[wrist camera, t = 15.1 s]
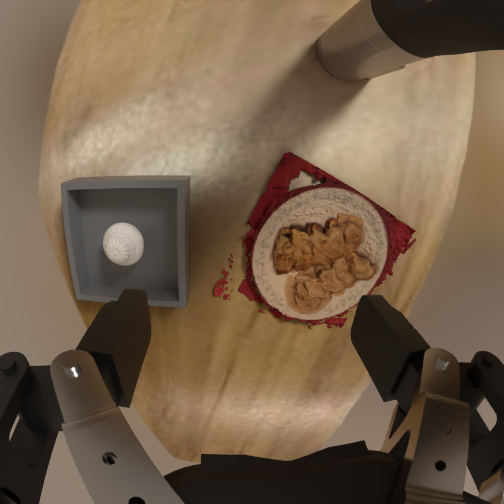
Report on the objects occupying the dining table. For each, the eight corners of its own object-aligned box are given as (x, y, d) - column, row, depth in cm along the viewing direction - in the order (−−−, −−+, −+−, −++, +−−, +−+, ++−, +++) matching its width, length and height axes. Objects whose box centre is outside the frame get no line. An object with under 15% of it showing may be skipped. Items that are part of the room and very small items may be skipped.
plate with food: (284, 149, 39) (288, 149, 36) (411, 228, 45) (422, 235, 42) (212, 289, 46) (210, 300, 43) (340, 337, 52) (345, 348, 49)
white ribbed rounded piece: (123, 261, 41) (107, 282, 34) (105, 226, 38) (85, 241, 32) (156, 246, 41) (145, 266, 34) (139, 209, 38) (123, 222, 32)
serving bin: (190, 175, 38) (185, 180, 34) (189, 291, 45) (186, 307, 40) (76, 177, 36) (60, 183, 32) (88, 284, 43) (76, 299, 38)
